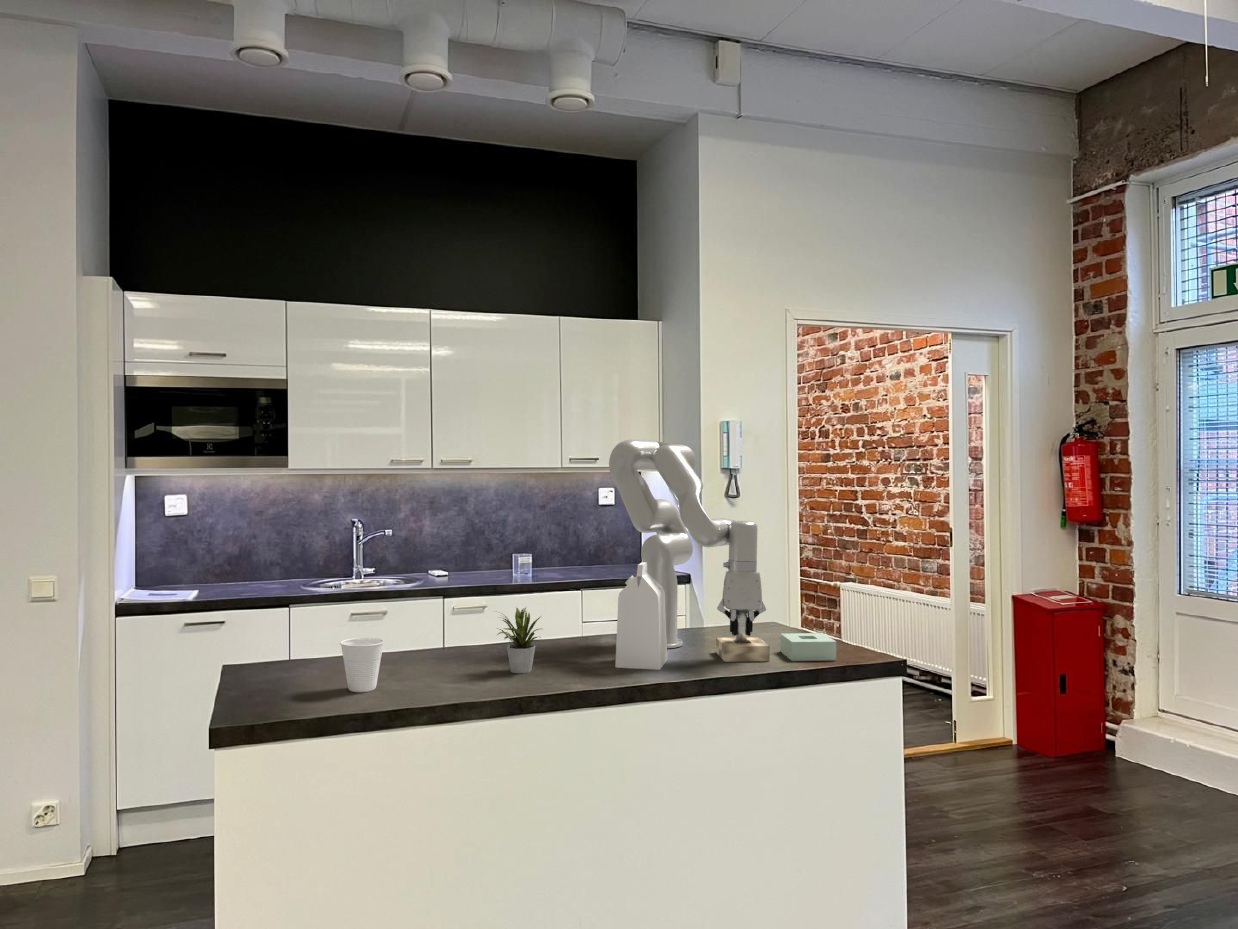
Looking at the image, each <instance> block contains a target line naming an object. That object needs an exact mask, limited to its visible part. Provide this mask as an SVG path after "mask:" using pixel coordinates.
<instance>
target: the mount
mask: <svg viewBox="0 0 1238 929" xmlns="http://www.w3.org/2000/svg"><path fill="white" fill-rule="evenodd" d="M770 647H771V646H770V645H769V644H768V643H767V642H765V641H764V640H763V639H762V638H761V637H760V636H759V637H756V636H753V637H752V636H751V637H750V636H747V643H735V637H716V639H715V653H716V654H717V655H718V656H719V657H720V659H721V660H722V661H723V662H724V663H725V662H727V663H728V662H770V659H771V658H770V654H771V653H770V652H771V651H770Z"/></svg>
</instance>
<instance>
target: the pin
mask: <svg viewBox="0 0 1238 929" xmlns="http://www.w3.org/2000/svg"><path fill="white" fill-rule="evenodd" d="M747 614H748V610H736V615H735V618H736V621H737V635H736V636H734V638H735V643H747V637H748V635H747V617H748V615H747Z"/></svg>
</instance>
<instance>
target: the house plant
mask: <svg viewBox="0 0 1238 929" xmlns="http://www.w3.org/2000/svg"><path fill="white" fill-rule="evenodd" d="M526 608H527V607H523V608H522V609H519V608H518V607H515V615H514V617H515V625H516V628H515V627H514V625H513V624H512V622H511V621H510V620H509V618H508V617H507V616H506V615H505V614H504V613H502V612H500V611H497V610H496V611H495V610H494V612H496V613H499V614H502V616H501V615H499V616H498V618H499V619H502V621H503V622H504V623H506V624H507V625H506V626H508V627H506V628H502V629H501V628H497V627H496V629H497V630H500V632H498V633H497V634H496V636H498V635H500V634H504V635H505V637H504V639H503V640H506V639H509V641H510V642H512V643H511V644H508V645H507V646H506V650H507V656H508V663H509V669H510V672H511V673H513V674H528V673H531V672H532V668H533V662H534V656H535V651H536V645H535V644H532V642H533V641H534V640H535V639H537V638H538V636H534V635H535V632H536V631H539V630H540V628H536V629H534V630H533V628H534V626H535V625H536V623H537V621H539V619H541V618H542V615H540V616H539V617H538V618H537V619H535V620H534V621H533V622H532V623H531V622H530V621H531V613H530V612H528V611H527V609H526ZM520 610H521V611H520ZM530 623H531V625H530ZM529 625H530V626H529ZM504 630H507V631H504ZM532 630H533V631H532ZM542 630H544V629H543V628H542ZM508 631H511V633H512V634H513V635H512V634H510V633H509V632H508ZM531 631H532V632H531ZM539 638H540V639H542V638H541V636H539Z"/></svg>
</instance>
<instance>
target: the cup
mask: <svg viewBox="0 0 1238 929" xmlns="http://www.w3.org/2000/svg"><path fill="white" fill-rule="evenodd" d="M385 642H386V641H385V640H384V639H382V638H379V637H378V638H377V637H354V638H347V639H344V640H341V641H340V642H339V644H340V646H341V652H342V658H343V659H342V660H343V664H344V671H345V677H346V683H347V688H348V690H349V691H350V692H352V693H368V692H372V691H374V690H375V689H376V688H377V684H378V677H379V671H380V665H381V660H382V659H381V658H382V654H383V649H384V648H383V647H384V644H385Z"/></svg>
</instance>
